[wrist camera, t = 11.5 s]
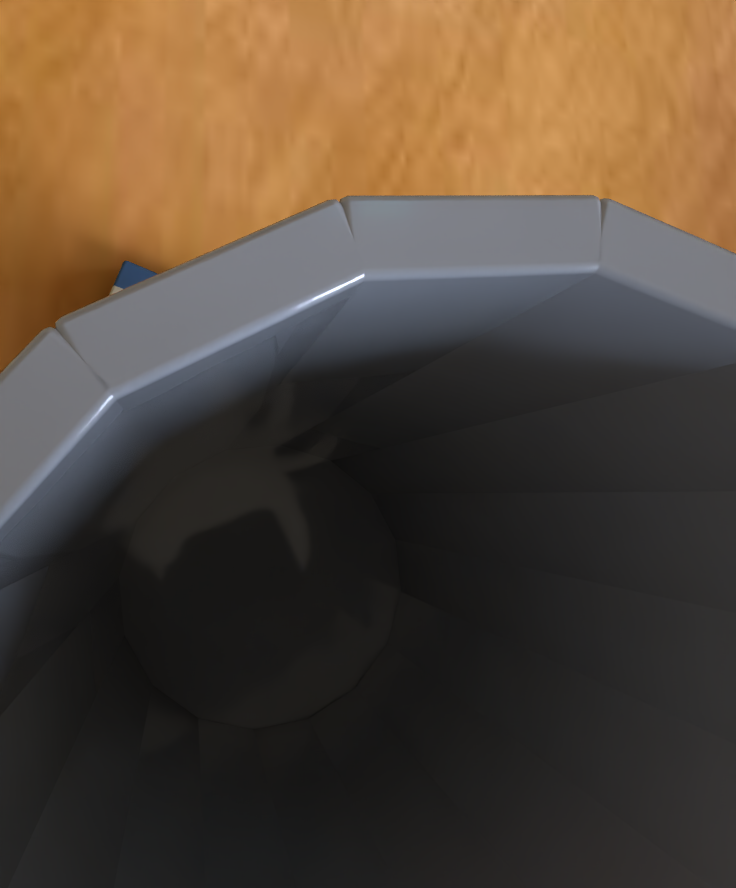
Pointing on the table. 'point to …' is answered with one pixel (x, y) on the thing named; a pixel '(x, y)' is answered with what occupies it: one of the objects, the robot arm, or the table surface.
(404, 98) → the table surface
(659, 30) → the table surface
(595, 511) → the tumbler
